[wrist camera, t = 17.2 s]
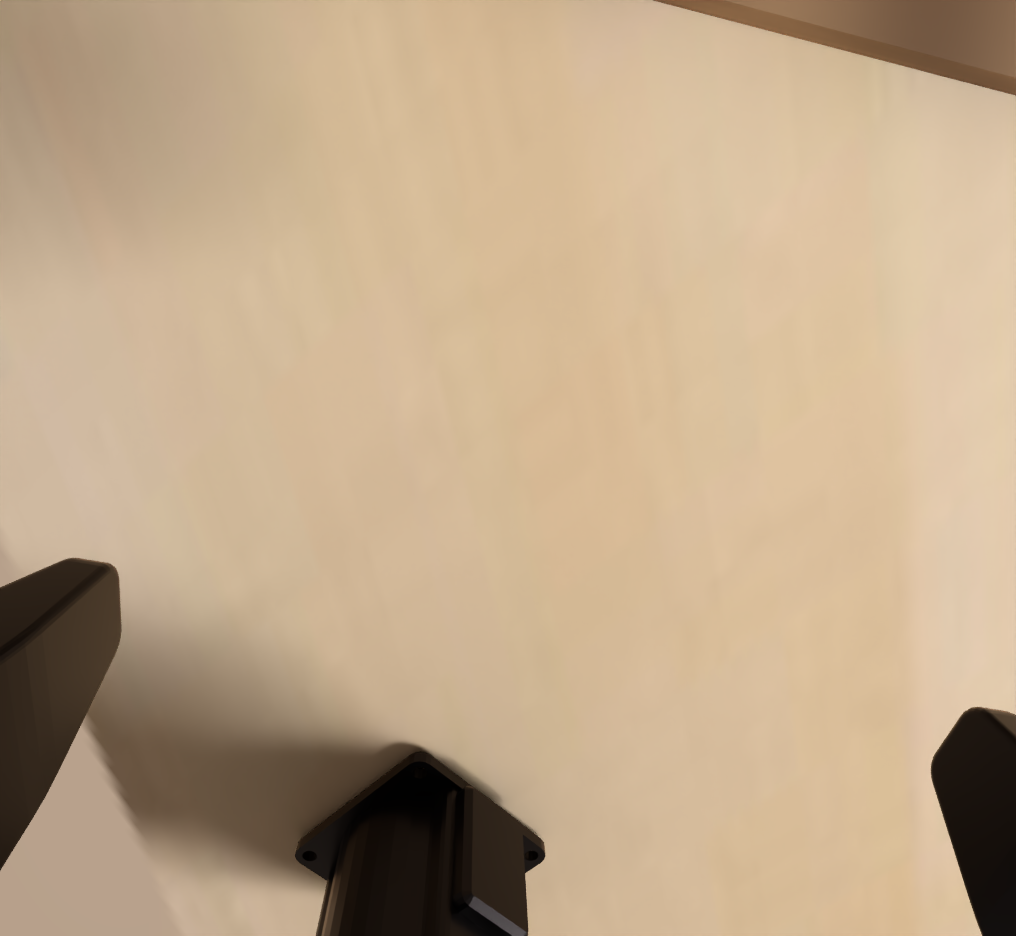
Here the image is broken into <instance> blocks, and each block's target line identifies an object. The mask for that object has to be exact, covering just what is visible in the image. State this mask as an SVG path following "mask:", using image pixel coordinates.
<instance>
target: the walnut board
mask: <svg viewBox="0 0 1016 936" xmlns="http://www.w3.org/2000/svg"><path fill="white" fill-rule="evenodd" d="M654 1H658V2H662V3H666V4H670V5H673V6H677V7H681V8H685V9H689V10H692V11H696V12H700V13H704V14H708V15H712V16H715V17H719V18H723V19H727V20H731V21H734V22H738V23H742V24H746V25H750V26H754V27H757V28H761V29H765V30H769V31H773V32H776V33H780V34H784V35H788V36H792V37H795V38H799V39H803V40H807V41H811V42H815V43H818V44H822V45H826V46H830V47H834V48H837V49H841V50H845V51H849V52H853V53H856V54H860V55H864V56H868V57H872V58H876V59H879V60H883V61H887V62H891V63H895V64H898V65H902V66H906V67H910V68H914V69H918V70H921V71H925V72H929V73H933V74H937V75H940V76H944V77H948V78H952V79H956V80H959V81H963V82H967V83H971V84H975V85H979V86H982V87H986V88H990V89H994V90H998V91H1001V92H1005V93H1009V94H1013V95H1016V0H654Z"/></svg>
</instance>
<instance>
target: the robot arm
mask: <svg viewBox="0 0 1016 936" xmlns="http://www.w3.org/2000/svg"><path fill="white" fill-rule="evenodd" d="M120 638H121V608H120V588H119V576H118V572H117V570H116V568H115V567H114V566H113V565H111V564H109V563H105V562H99V561H93V560H87V559H81V558H68V559H66V560H63V561H60V562H58V563H56V564H53V565H51V566H49V567H46V568H44V569H42V570H39V571H37V572H35V573H32V574H30V575H28V576H26V577H23V578H21V579H19V580H16V581H14V582H12V583H9V584H7V585H5V586H2V587H0V870H1V868H2V867H3V865H4V864H5V862H6V860H7V859H8V857H9V855H10V854H11V852H12V851H13V849H14V847H15V846H16V844H17V843H18V841H19V840H20V838H21V836H22V834H23V833H24V831H25V830H26V828H27V827H28V825H29V823H30V822H31V820H32V818H33V817H34V815H35V813H36V812H37V810H38V808H39V807H40V805H41V803H42V801H43V800H44V798H45V796H46V794H47V792H48V791H49V789H50V787H51V784H52V783H53V781H54V779H55V777H56V775H57V773H58V771H59V769H60V767H61V765H62V763H63V761H64V759H65V757H66V755H67V753H68V751H69V748H70V746H71V744H72V742H73V740H74V738H75V736H76V734H77V732H78V730H79V728H80V726H81V724H82V722H83V720H84V718H85V716H86V713H87V711H88V709H89V707H90V705H91V703H92V701H93V699H94V697H95V695H96V693H97V691H98V689H99V687H100V685H101V683H102V681H103V678H104V676H105V674H106V672H107V670H108V668H109V666H110V664H111V662H112V660H113V658H114V656H115V654H116V651H117V648H118V645H119V642H120ZM417 767H423V768H424V769H417ZM931 778H932V782H933V785H934V788H935V792H936V795H937V798H938V801H939V804H940V807H941V811H942V814H943V817H944V820H945V823H946V827H947V830H948V833H949V836H950V839H951V842H952V846H953V849H954V852H955V855H956V858H957V862H958V865H959V868H960V871H961V874H962V877H963V881H964V884H965V887H966V890H967V893H968V896H969V900H970V903H971V906H972V908H973V911H974V914H975V917H976V920H977V923H978V926H979V929H980V931H981V934H982V936H1016V715H1015V714H1012V713H1010V712H1006V711H1001V710H995V709H989V708H983V707H973V708H970V709H968V710H967V711H965V712H964V713H963V714H962V715H961V717H960V718H959V719H958V721H957V722H956V724H955V725H954V727H953V728H952V730H951V731H950V733H949V734H948V736H947V737H946V738H945V740H944V741H943V743H942V744H941V746H940V747H939V749H938V750H937V752H936V753H935V755H934V757H933V760H932V763H931ZM295 857H296V859H297V861H298V862H299V863H301V864H302V865H304V866H305V867H307V868H308V869H310V870H311V871H313V872H315V873H316V874H318V875H319V876H321V877H322V878H324V879H325V880H327V886H326V890H325V895H324V900H323V904H322V909H321V914H320V918H319V923H318V927H317V932H316V936H528V917H527V900H526V882H525V873H526V872H528V871H529V870H531V869H532V868H534V867H535V866H537V865H538V864H540V863H541V862H542V861H543V860H544V858H545V846H544V842H543V841H542V840H541V839H540V838H539V837H538V836H536V835H535V834H534V833H533V832H531V831H530V830H529V829H527V828H526V827H525V826H523V825H522V824H521V823H520V822H519V821H518V820H516V819H515V818H514V817H512V816H511V815H510V814H508V813H507V812H506V811H504V810H503V809H502V808H500V807H499V806H498V805H497V804H495V803H494V802H493V801H491V800H490V799H489V798H487V797H486V796H485V795H483V794H482V793H481V792H479V791H478V790H477V789H475V788H473V787H472V786H471V785H469V784H468V783H467V782H465V781H464V780H463V779H461V778H460V777H459V776H458V775H456V774H455V773H454V772H452V771H451V770H450V769H448V768H447V767H446V766H444V765H443V764H442V763H440V762H439V761H438V760H436V759H435V758H434V757H433V756H431V755H429V754H427V753H423V752H418V753H414V754H412V755H410V756H409V757H407V758H406V759H405V760H403V761H402V762H401V763H399V764H398V765H397V766H396V767H394V768H393V769H392V770H390V771H389V772H388V773H386V774H385V775H384V776H383V777H381V778H380V779H379V780H377V781H376V782H375V783H373V784H372V785H371V786H370V787H368V788H367V789H366V790H364V791H363V792H362V793H360V794H359V795H358V796H357V797H355V798H354V799H353V800H351V801H350V802H349V803H347V804H346V805H345V806H343V807H342V808H341V809H340V810H338V811H337V812H336V813H334V814H333V815H332V816H330V817H329V818H328V819H327V820H325V821H324V822H323V823H321V824H320V825H319V826H317V827H316V828H315V829H314V830H312V831H311V832H310V833H308V834H307V835H306V836H304V837H303V838H302V839H301V840H300V841H299V842H298V846H297V850H296V854H295Z"/></svg>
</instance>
